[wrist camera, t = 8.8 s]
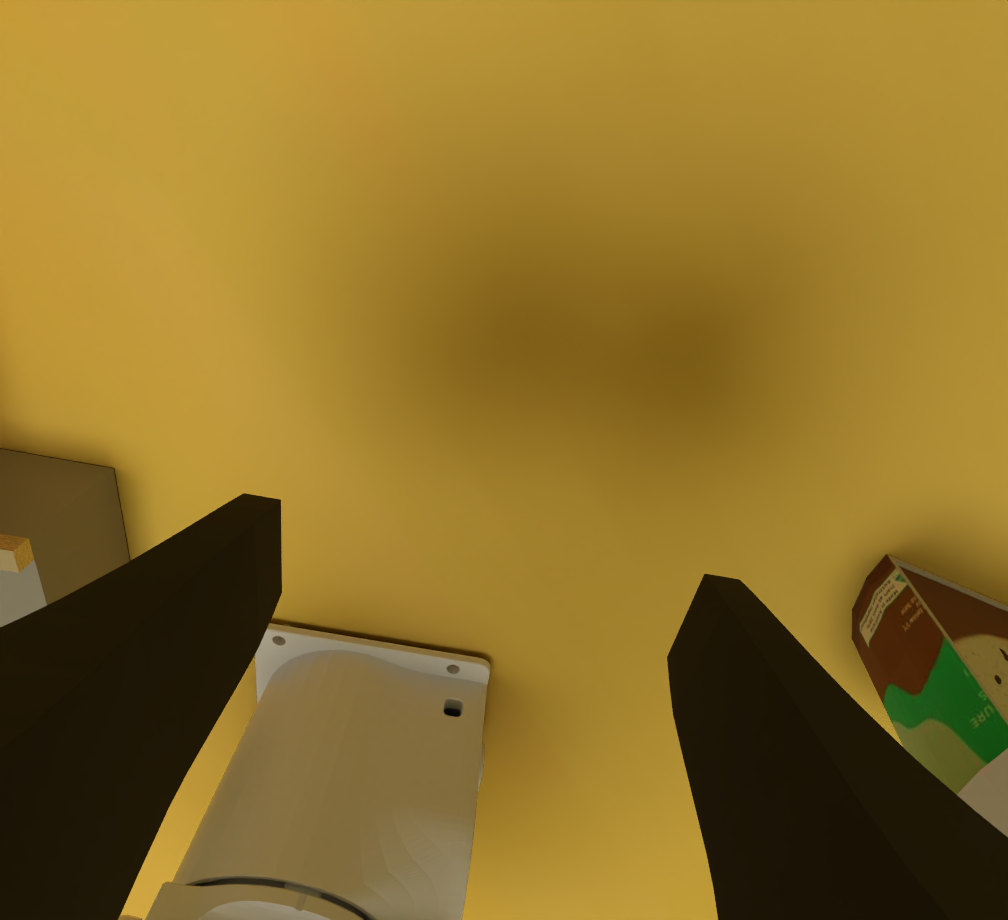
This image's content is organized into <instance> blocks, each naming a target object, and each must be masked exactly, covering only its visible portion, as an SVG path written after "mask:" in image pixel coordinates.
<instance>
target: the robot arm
mask: <svg viewBox="0 0 1008 920" xmlns="http://www.w3.org/2000/svg"><path fill="white" fill-rule="evenodd" d="M281 593H282V568H281V500H279V499H273V498H267V497H262V496H256V495H250V494H242V495H240V496H238V497H237V498H235V499H233V500H231V501H230V502H228V503H226V504H225V505H223V506H221V507H220V508H218V509H216V510H215V511H213V512H212V513H210V514H208V515H207V516H205V517H203V518H202V519H200V520H199V521H197V522H195V523H194V524H192V525H190V526H189V527H187V528H185V529H184V530H182V531H181V532H179V533H177V534H175V535H174V536H172V537H170V538H169V539H167V540H165V541H164V542H162V543H160V544H159V545H157V546H155V547H153V548H152V549H150V550H148V551H147V552H145V553H143V554H142V555H140V556H138V557H137V558H135V559H133V560H131V561H130V562H128V563H126V564H124V565H122V566H120V567H118V568H117V569H115V570H113V571H111V572H109V573H107V574H105V575H104V576H102V577H100V578H98V579H96V580H94V581H92V582H91V583H89V584H87V585H85V586H83V587H81V588H79V589H77V590H76V591H74V592H72V593H70V594H68V595H66V596H64V597H63V598H61V599H59V600H57V601H55V602H53V603H51V604H49V605H47V606H45V607H43V608H41V609H39V610H36V611H34V612H32V613H30V614H28V615H26V616H24V617H22V618H20V619H18V620H15V621H13V622H11V623H9V624H7V625H4V626H2V627H0V920H142V918H138V917H134V916H130V915H122V916H120V914H121V912H122V910H123V907H124V905H125V903H126V900H127V898H128V896H129V894H130V891H131V889H132V887H133V885H134V882H135V880H136V878H137V875H138V873H139V871H140V869H141V867H142V865H143V862H144V860H145V858H146V856H147V854H148V852H149V849H150V847H151V845H152V843H153V841H154V839H155V836H156V834H157V832H158V830H159V828H160V826H161V823H162V821H163V819H164V817H165V815H166V813H167V810H168V808H169V806H170V804H171V802H172V800H173V798H174V796H175V795H176V793H177V791H178V789H179V787H180V785H181V783H182V781H183V779H184V777H185V776H186V774H187V772H188V770H189V768H190V767H191V765H192V763H193V762H194V760H195V758H196V756H197V755H198V753H199V751H200V749H201V748H202V746H203V744H204V742H205V741H206V739H207V737H208V736H209V734H210V732H211V730H212V729H213V727H214V725H215V723H216V722H217V720H218V718H219V716H220V715H221V713H222V711H223V710H224V708H225V706H226V704H227V703H228V701H229V699H230V697H231V696H232V694H233V692H234V691H235V689H236V687H237V685H238V683H239V682H240V680H241V678H242V676H243V675H244V673H245V671H246V669H247V668H248V666H249V664H250V662H251V661H252V659H253V657H254V655H255V666H256V689H257V707H256V709H255V711H254V713H253V715H252V717H251V719H250V721H249V723H248V726H247V728H246V730H245V732H244V734H243V736H242V738H241V740H240V742H239V744H238V746H237V748H236V750H235V753H234V755H233V757H232V759H231V761H230V763H229V765H228V767H227V769H226V771H225V773H224V775H223V778H222V780H221V782H220V784H219V786H218V788H217V790H216V792H215V794H214V796H213V798H212V800H211V802H210V805H209V807H208V809H207V811H206V813H205V815H204V817H203V819H202V821H201V823H200V825H199V827H198V829H197V832H196V834H195V836H194V838H193V840H192V842H191V844H190V846H189V848H188V850H187V852H186V854H185V857H184V859H183V861H182V863H181V865H180V867H179V869H178V871H177V873H176V875H175V877H174V879H173V881H172V882H165V883H164V884H163V885H162V887H161V889H160V891H159V893H158V895H157V897H156V899H155V901H154V903H153V905H152V907H151V909H150V911H149V913H148V915H147V917H146V919H145V920H462V915H463V909H464V903H465V896H466V889H467V882H468V875H469V868H470V860H471V852H472V844H473V835H474V826H475V815H476V804H477V793H478V791H479V788H480V784H481V779H482V773H483V765H484V756H485V745H484V744H482V738H483V727H484V716H485V705H486V694H487V684H488V680H489V676H490V664H489V662H488V661H486V660H485V659H482V658H478V657H472V656H466V655H460V654H454V653H447V652H441V651H435V650H429V649H423V648H417V647H411V646H405V645H399V644H393V643H387V642H381V641H375V640H369V639H363V638H356V637H350V636H344V635H338V634H332V633H326V632H320V631H314V630H308V629H302V628H296V627H290V626H284V625H278V624H272V623H270V620H271V618H272V616H273V613H274V611H275V608H276V606H277V603H278V601H279V598H280V596H281ZM279 636H280V637H279ZM281 637H283V638H281ZM667 661H668V672H669V682H670V692H671V700H672V708H673V715H674V720H675V724H676V729H677V733H678V737H679V742H680V746H681V750H682V754H683V759H684V763H685V767H686V771H687V775H688V779H689V783H690V787H691V792H692V796H693V800H694V804H695V808H696V812H697V816H698V820H699V824H700V828H701V833H702V837H703V841H704V845H705V849H706V853H707V858H708V863H709V868H710V873H711V878H712V882H713V888H714V894H715V901H716V908H717V914H718V920H1008V837H1007V836H1006V835H1004V834H1003V833H1002V832H1001V831H999V830H998V829H997V828H996V827H994V826H993V825H992V824H991V823H990V822H988V821H987V820H986V819H985V818H983V817H982V816H981V815H980V814H979V813H977V812H976V811H975V810H974V809H973V808H971V807H970V806H969V805H968V804H967V803H966V802H964V801H963V800H962V799H961V798H960V797H959V796H958V795H956V794H955V793H954V792H953V791H952V790H951V789H949V788H948V787H947V786H946V785H945V784H944V783H942V782H941V781H940V780H939V779H938V778H937V777H936V776H934V775H933V774H932V773H931V772H930V771H929V770H927V769H926V768H925V767H924V766H923V765H922V764H921V763H920V762H919V761H917V760H916V759H915V758H914V757H913V756H912V755H911V754H910V753H909V752H908V751H906V750H905V749H904V748H903V747H902V746H901V745H900V744H899V743H898V742H897V741H896V740H895V739H894V738H893V737H892V736H891V735H890V734H889V733H888V732H886V731H885V730H884V729H883V728H882V727H881V726H880V725H879V724H878V723H877V722H876V721H875V720H874V719H873V718H872V717H871V716H870V715H869V714H868V713H867V712H866V711H865V710H864V709H863V708H862V707H861V706H860V705H859V704H858V703H857V702H856V701H855V700H854V699H853V698H852V697H851V696H850V695H849V694H848V693H847V692H846V691H845V690H844V689H843V688H842V687H841V686H840V685H839V684H838V683H837V682H836V681H835V680H834V679H833V678H832V677H831V676H830V675H829V674H828V673H827V672H826V670H825V669H824V668H823V667H822V666H821V665H820V664H819V663H818V662H817V661H816V660H815V659H814V658H813V657H812V656H811V655H810V654H809V652H808V651H807V650H806V649H805V648H804V647H803V646H802V645H801V644H800V643H799V642H798V641H797V640H796V638H795V637H794V636H793V635H792V634H791V633H790V632H789V631H788V630H787V629H786V628H785V627H784V625H783V624H782V623H781V622H780V621H779V620H778V619H777V618H776V617H775V616H774V615H773V614H772V612H771V611H770V610H769V609H768V608H767V607H766V606H765V605H764V604H763V603H762V602H761V601H760V600H759V599H758V598H757V597H756V595H755V594H754V593H753V592H752V591H751V590H750V589H749V588H748V587H747V586H746V585H745V584H743V583H742V582H741V581H740V580H738V579H733V578H727V577H721V576H715V575H710V574H704V576H703V578H702V581H701V583H700V585H699V587H698V590H697V592H696V594H695V596H694V599H693V601H692V603H691V605H690V607H689V610H688V612H687V614H686V616H685V619H684V621H683V623H682V625H681V627H680V630H679V632H678V634H677V636H676V639H675V641H674V643H673V645H672V647H671V650H670V652H669V654H668V656H667ZM452 665H456V666H452ZM119 916H120V917H119Z"/></svg>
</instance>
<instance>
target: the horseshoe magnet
mask: <svg viewBox="0 0 1008 920" xmlns="http://www.w3.org/2000/svg"><path fill="white" fill-rule="evenodd" d="M128 562H130V559H129V553H128V548H127V542H126V536H125V530H124V525H123V519H122V513H121V507H120V502H119V496H118V490H117V484H116V479H115V473H114V469H113V468H108V467H102V466H96V465H90V464H85V463H79V462H73V461H67V460H62V459H56V458H50V457H44V456H39V455H33V454H27V453H22V452H16V451H10V450H4V449H0V627H2V626H4V625H7V624H9V623H11V622H13V621H15V620H18V619H20V618H22V617H24V616H26V615H28V614H30V613H32V612H34V611H36V610H39V609H41V608H43V607H45V606H47V605H49V604H51V603H53V602H55V601H57V600H59V599H61V598H63V597H64V596H66V595H68V594H70V593H72V592H74V591H76V590H77V589H79V588H81V587H83V586H85V585H87V584H89V583H91V582H92V581H94V580H96V579H98V578H100V577H102V576H104V575H105V574H107V573H109V572H111V571H113V570H115V569H117V568H118V567H120V566H122V565H124V564H126V563H128Z"/></svg>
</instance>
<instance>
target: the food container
mask: <svg viewBox="0 0 1008 920" xmlns="http://www.w3.org/2000/svg"><path fill="white" fill-rule="evenodd" d="M852 640H853V642H854V644H855V646H856V648H857V650H858V652H859V654H860V657H861V659H862V661H863V663H864V665H865V667H866V669H867V671H868V673H869V676H870V678H871V680H872V682H873V684H874V686H875V688H876V690H877V692H878V694H879V697H880V699H881V701H882V703H883V705H884V707H885V709H886V711H887V713H888V715H889V718H890V720H891V722H892V724H893V726H894V728H895V730H896V732H897V734H898V736H899V739H900V741H901V743H902V745H903V747H904V749H905V750H906V751H908V752H909V753H910V754H911V755H912V756H913V757H914V758H915V759H916V760H917V761H919V762H920V763H921V764H922V765H923V766H924V767H925V768H926V769H927V770H929V771H930V772H931V773H932V774H933V775H934V776H936V777H937V778H938V779H939V780H940V781H941V782H942V783H944V784H945V785H946V786H947V787H948V788H949V789H951V790H952V791H953V792H954V793H955V794H956V795H958V796H959V797H960V798H961V799H962V800H963V801H964V802H966V803H967V804H968V805H969V806H970V807H971V808H973V809H974V810H975V811H976V812H977V813H979V814H980V815H981V816H982V817H983V818H985V819H986V820H987V821H988V822H990V823H991V824H992V825H993V826H994V827H996V828H997V829H998V830H999V831H1001V832H1002V833H1003V834H1004V835H1006V836H1007V837H1008V605H1005V604H1003V603H1001V602H998V601H996V600H994V599H991V598H989V597H987V596H984V595H982V594H980V593H977V592H975V591H972V590H970V589H968V588H965V587H963V586H961V585H958V584H956V583H954V582H951V581H949V580H947V579H944V578H942V577H940V576H937V575H935V574H932V573H930V572H928V571H925V570H923V569H921V568H918V567H916V566H914V565H911V564H909V563H907V562H904V561H902V560H900V559H897V558H895V557H892V556H890V555H888V554H886V555H885V556H884V558H883V559H882V560H881V561H880V562H879V564H878V565H877V566H876V567H875V568H874V569H873V571H872V572H871V573H870V574H869V575H868V577H867V578H866V580H865V582H864V584H863V587H862V589H861V591H860V593H859V596H858V598H857V600H856V602H855V604H854V607H853V609H852Z"/></svg>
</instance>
